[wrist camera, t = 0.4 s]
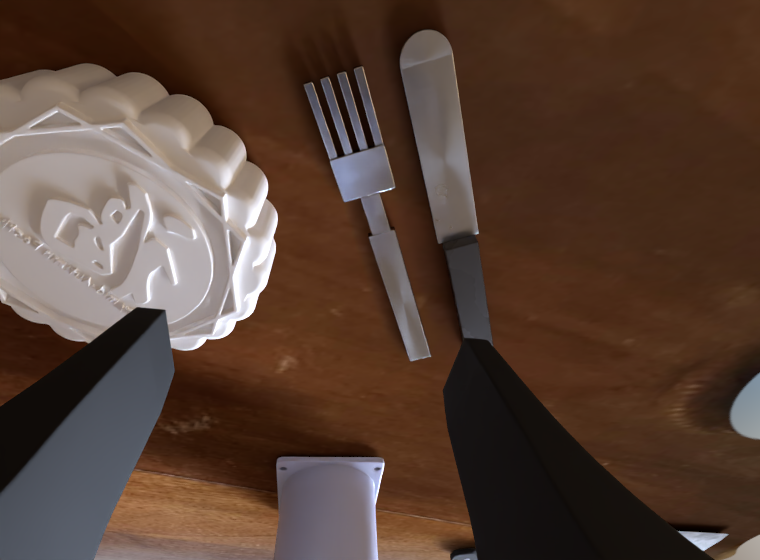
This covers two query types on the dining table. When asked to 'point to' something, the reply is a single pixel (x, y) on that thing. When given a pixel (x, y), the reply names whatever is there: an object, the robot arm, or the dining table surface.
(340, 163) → the fork
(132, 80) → the mooncake
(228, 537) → the dining table surface
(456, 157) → the knife
